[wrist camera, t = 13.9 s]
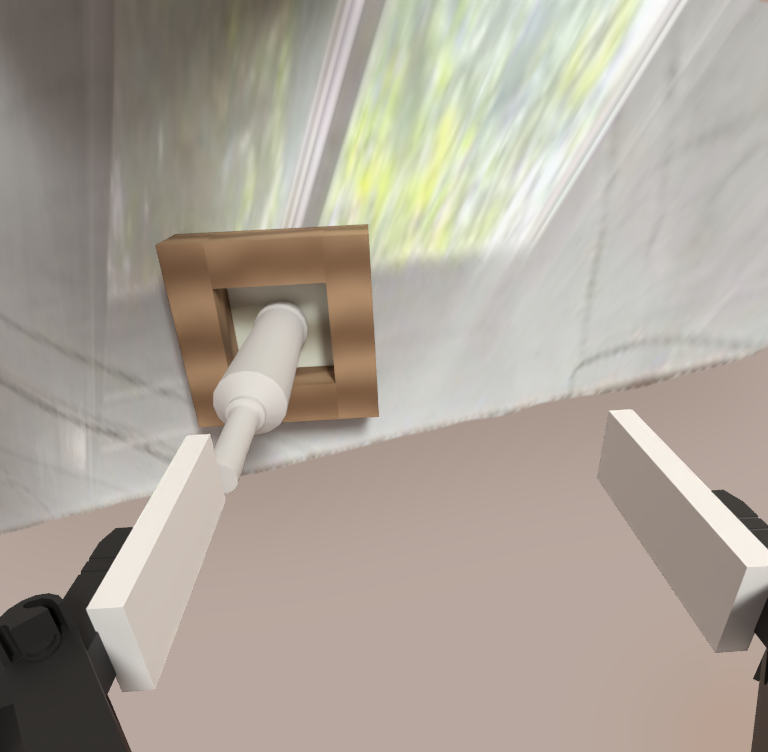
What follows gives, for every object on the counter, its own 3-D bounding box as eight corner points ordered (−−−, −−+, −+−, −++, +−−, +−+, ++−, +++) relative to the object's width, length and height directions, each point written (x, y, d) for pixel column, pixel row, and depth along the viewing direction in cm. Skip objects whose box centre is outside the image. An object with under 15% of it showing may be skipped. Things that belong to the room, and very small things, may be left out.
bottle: (318, 334, 51) (283, 496, 28) (273, 354, 52) (205, 527, 29) (293, 289, 49) (234, 425, 26) (247, 311, 49) (151, 461, 27)
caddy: (175, 234, 47) (155, 245, 42) (367, 224, 47) (368, 234, 43) (212, 403, 55) (199, 427, 50) (377, 393, 55) (378, 416, 50)
